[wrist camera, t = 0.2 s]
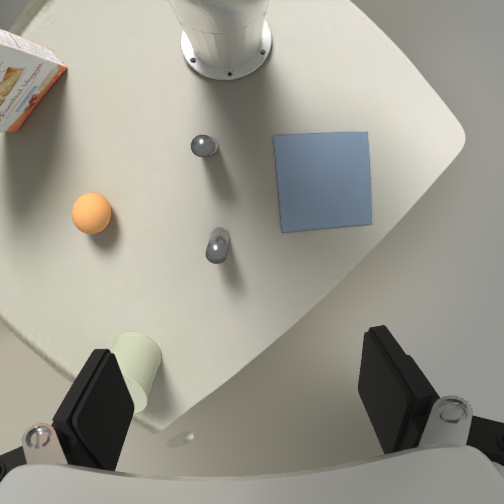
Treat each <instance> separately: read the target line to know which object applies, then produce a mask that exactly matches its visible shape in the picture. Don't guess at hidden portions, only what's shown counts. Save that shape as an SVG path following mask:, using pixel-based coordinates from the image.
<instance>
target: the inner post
mask: <svg viewBox="0 0 504 504" xmlns="http://www.w3.org/2000/svg"><path fill="white" fill-rule="evenodd" d="M217 149H218V143H217V141H216V140H215V139H214V138H212V137H209V136H206V135H198V136H196V137H195V138H194V139H193V140H192V142H191V150H192V152H193V153H194V154H195V155H196V156H199V157H205V156H209V155H213V154H214V153H215V152H216V151H217Z"/></svg>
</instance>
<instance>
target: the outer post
mask: <svg viewBox="0 0 504 504" xmlns="http://www.w3.org/2000/svg"><path fill="white" fill-rule="evenodd" d="M228 241H229V233H228V231H227V230H226V229H224V228H216V229H214V230H213V232H212V234H211V237H210V240H209V243H208V246H207V249H206V257H207V259H208V260H209V261H210V262H211V263H214V264H219V263H222V262H223V261H224V260H225V259H226V256H227V249H228Z"/></svg>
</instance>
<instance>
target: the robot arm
mask: <svg viewBox="0 0 504 504" xmlns="http://www.w3.org/2000/svg"><path fill="white" fill-rule="evenodd" d="M168 2H169V3H170V5H171V7H172V9H173V11H174V13H175V14H176V16H177V18H178V20H179V22H180V24H181V26H182V28H183V33H182V37H181V48H182V53H183V55H184V57H185V59H186V61H187V62H188V64H189V65H190V66H191V67H192V68H193V69H194V70H195V71H197V72H198V73H199V74H201V75H203V76H206V77H208V78H212V79H215V80H234V79H238V78H242V77H244V76H246V75H249V74H250V73H252V72H254V71H255V70H256V69H258V68H259V67H260V66H261V65H262V64H263V62H264V61H265V60H266V58H267V56H268V54H269V52H270V48H271V42H272V36H271V30H270V28H269V25H268V23H267V22H266V20H265V16H266V12H267V7H268V2H269V0H168ZM261 53H264V55H261ZM194 60H195V61H196V62H195V63H192V61H194ZM229 73H231V74H232V75H231V76H229V75H228V74H229ZM358 392H359V395H360V397H361V400H362V402H363V404H364V406H365V409H366V411H367V414H368V416H369V418H370V421H371V423H372V425H373V427H374V430H375V433H376V435H377V437H378V440H379V442H380V444H381V447H382V449H383V452H384V454H385V455H382V456H378V457H373V458H369V459H364V460H360V461H355V462H350V463H345V464H340V465H334V466H329V467H323V468H317V469H311V470H304V471H296V472H287V473H278V474H269V475H268V474H267V475H255V476H237V477H175V476H157V475H144V474H134V473H125V472H117V471H115V469H116V466H117V462H118V459H119V456H120V453H121V450H122V447H123V444H124V441H125V437H126V434H127V431H128V428H129V426H130V423H131V420H132V417H133V414H134V410H135V406H134V402H133V400H132V397H131V395H130V392H129V390H128V388H127V385H126V383H125V380H124V377H123V375H122V372H121V370H120V367H119V364H118V362H117V359H116V356H115V354H114V353H111V351H110V350H109V349H94V351H93V352H92V354H91V355H90V357H89V358H88V360H87V362H86V363H85V365H84V366H83V368H82V370H81V371H80V373H79V375H78V376H77V378H76V379H75V381H74V383H73V384H72V386H71V388H70V390H69V391H68V393H67V395H66V396H65V398H64V400H63V401H62V403H61V405H60V407H59V408H58V410H57V412H56V414H55V415H54V417H53V423H52V425H51V426H50V425H49V424H46V423H39V424H35V425H33V426H31V427H29V428H28V429H27V430H26V431H25V433H24V434H23V437H22V445H23V446H21V447H19V448H17V449H14V450H12V451H10V452H7V453H5V454H3V455H0V504H504V423H501V422H497V421H493V420H489V419H484V418H481V417H477V416H473V410H472V407H471V405H470V404H469V403H468V401H466V400H465V399H463V398H461V397H458V396H444V397H442V398H440V397H439V396H438V394H437V392H436V391H435V390H434V388H433V387H432V385H431V384H430V382H429V381H428V380H427V378H426V377H425V375H424V374H423V372H422V371H421V370H420V368H419V367H418V365H417V364H416V363H415V361H414V360H413V358H412V357H411V356H410V355H406V354H405V352H404V351H403V349H402V348H401V347H400V345H399V344H398V342H397V341H396V340H395V338H394V337H393V336H392V334H391V333H390V332H389V330H388V329H387V327H386V326H384V325H382V326H376V327H370V328H369V331H368V332H365V334H364V341H363V350H362V359H361V367H360V375H359V383H358Z"/></svg>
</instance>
